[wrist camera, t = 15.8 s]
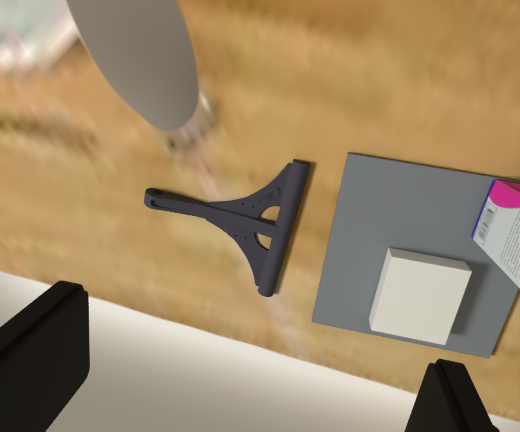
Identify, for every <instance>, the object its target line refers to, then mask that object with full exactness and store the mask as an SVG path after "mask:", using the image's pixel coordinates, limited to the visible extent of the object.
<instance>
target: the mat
mask: <svg viewBox="0 0 520 432" xmlns="http://www.w3.org/2000/svg"><path fill="white" fill-rule="evenodd" d="M493 179H499V180H505V181H510V182H515V183H520V181H519V180H513V179H507V178H501V177H495V176H489V175H483V174H477V173H471V172H465V171H458V170H452V169H446V168H440V167H434V166H428V165H422V164H416V163H410V162H404V161H397V160H391V159H385V158H379V157H373V156H367V155H361V154H355V153H349V152H348V154H347V159H346V163H345V168H344V173H343V177H342V182H341V187H340V191H339V196H338V200H337V205H336V210H335V214H334V219H333V224H332V228H331V233H330V237H329V242H328V247H327V251H326V256H325V261H324V265H323V270H322V275H321V279H320V284H319V288H318V293H317V298H316V302H315V307H314V312H313V316H312V322H313V323H318V324H323V325H328V326H333V327H338V328H343V329H348V330H353V331H357V332H362V333H367V334H372V335H377V336H382V337H387V338H392V339H396V340H401V341H406V342H411V343H416V344H421V345H426V346H431V347H436V348H440V349H445V350H450V351H455V352H460V353H465V354H470V355H475V356H480V357H484V358H490V356H491V353H492V351H493V349H494V346H495V344H496V341H497V339H498V337H499V334H500V332H501V330H502V327H503V325H504V322H505V320H506V318H507V315H508V313H509V311H510V308H511V306H512V303H513V301H514V299H515V296H516V294H517V292H518V289H519V287H518V286H517V285H516V284H515V283H514V282H513V281H512V280H511V279H510V278H509V277H508V275H507V274H506V273H505V272H504V271H503V270H502V269H501V268H500V267H499V266H498V265H497V264H496V263H495V262H494V261H493V260H492V259H491V258H490V257H489V256H488V255H487V253H486V252H485V251H484V250H483V249H482V248H481V247H480V246H479V245H478V244H477V243H476V242H475V241H474V240H473V239H472V238H471V234H472V232H473V229H474V227H475V224H476V221H477V219H478V216H479V214H480V211H481V209H482V206H483V203H484V201H485V198H486V196H487V193H488V191H489V188H490V186H491V183H492V181H493ZM388 248H394V249H399V250H404V251H410V252H415V253H421V254H426V255H432V256H437V257H442V258H448V259H453V260H459V261H464V262H465V263H466V264H467V266H468V267H469V268H470V270H471V271H472V273H471V275H470V278H469V281H468V284H467V286H466V289H465V292H464V294H463V297H462V300H461V303H460V305H459V308H458V311H457V314H456V316H455V319H454V322H453V324H452V327H451V330H450V333H449V335H448V338H447V341H446V344H445V345H441V344H436V343H432V342H427V341H422V340H417V339H412V338H407V337H402V336H397V335H392V334H387V333H383V332H378V331H373V330H371V328H370V322H369V316H370V312H371V309H372V305H373V302H374V298H375V294H376V291H377V287H378V284H379V280H380V276H381V273H382V269H383V265H384V262H385V258H386V255H387V251H388Z"/></svg>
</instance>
